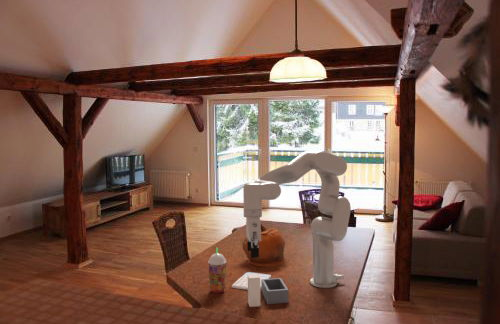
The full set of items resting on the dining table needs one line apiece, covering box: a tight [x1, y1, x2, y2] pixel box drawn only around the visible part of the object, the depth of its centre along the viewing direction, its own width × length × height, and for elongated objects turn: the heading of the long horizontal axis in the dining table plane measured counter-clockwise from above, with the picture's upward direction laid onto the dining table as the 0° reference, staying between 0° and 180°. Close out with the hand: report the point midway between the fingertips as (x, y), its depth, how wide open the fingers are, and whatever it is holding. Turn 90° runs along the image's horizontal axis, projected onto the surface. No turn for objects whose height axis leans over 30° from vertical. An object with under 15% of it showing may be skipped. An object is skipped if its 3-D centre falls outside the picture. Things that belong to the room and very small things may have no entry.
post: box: [247, 274, 261, 308], centre depth 161 cm, size 4×4×12 cm
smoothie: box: [207, 247, 227, 294], centre depth 176 cm, size 8×8×20 cm
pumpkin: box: [241, 222, 287, 268], centre depth 220 cm, size 22×25×23 cm
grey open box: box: [261, 277, 290, 305], centre depth 169 cm, size 9×14×6 cm, turn 8°
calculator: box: [231, 271, 272, 291], centre depth 187 cm, size 13×20×2 cm, turn 159°
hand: (252, 253), depth 160 cm, fingers open, 9 cm apart
